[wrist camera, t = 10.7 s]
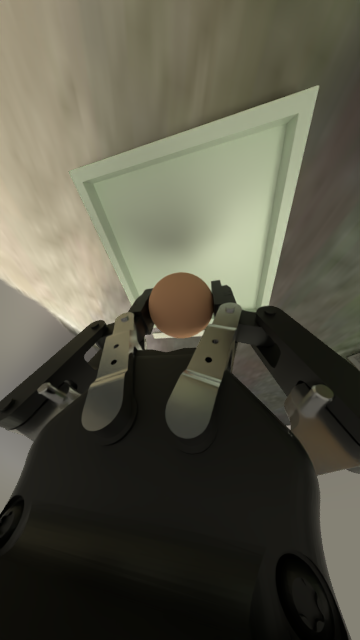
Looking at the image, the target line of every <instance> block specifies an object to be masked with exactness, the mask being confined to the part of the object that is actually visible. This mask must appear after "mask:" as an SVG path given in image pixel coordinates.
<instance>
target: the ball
mask: <svg viewBox="0 0 360 640" xmlns="http://www.w3.org/2000/svg"><path fill="white" fill-rule="evenodd" d="M213 311H214V306H213V295H212V292H211V290H210V288H209V287H208V285H207V284H206V283H205V282H204V281H203V280H202V279H200V278H199V277H197V276H195V275H193V274H190V273H185V272H178V273H173V274H170V275H167V276H165V277H164V278H162V279H161V280H160V281H159V282H158V283H157V284H156V285H155V287H154V288H153V290H152V292H151V295H150V298H149V313H150V316H151V319H152V321H153V322H154V324H155V325H156V327H157V328H158V329H159V330H160V331H162V332H163V333H165V334H166V335H168V336H171V337H175V338H188V337H192V336H194V335H196V334H198V333H200V332H201V331H202V330H203V329H205V327H206V326H207V325H208V324H209V322H210V320H211V318H212V315H213Z"/></svg>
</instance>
